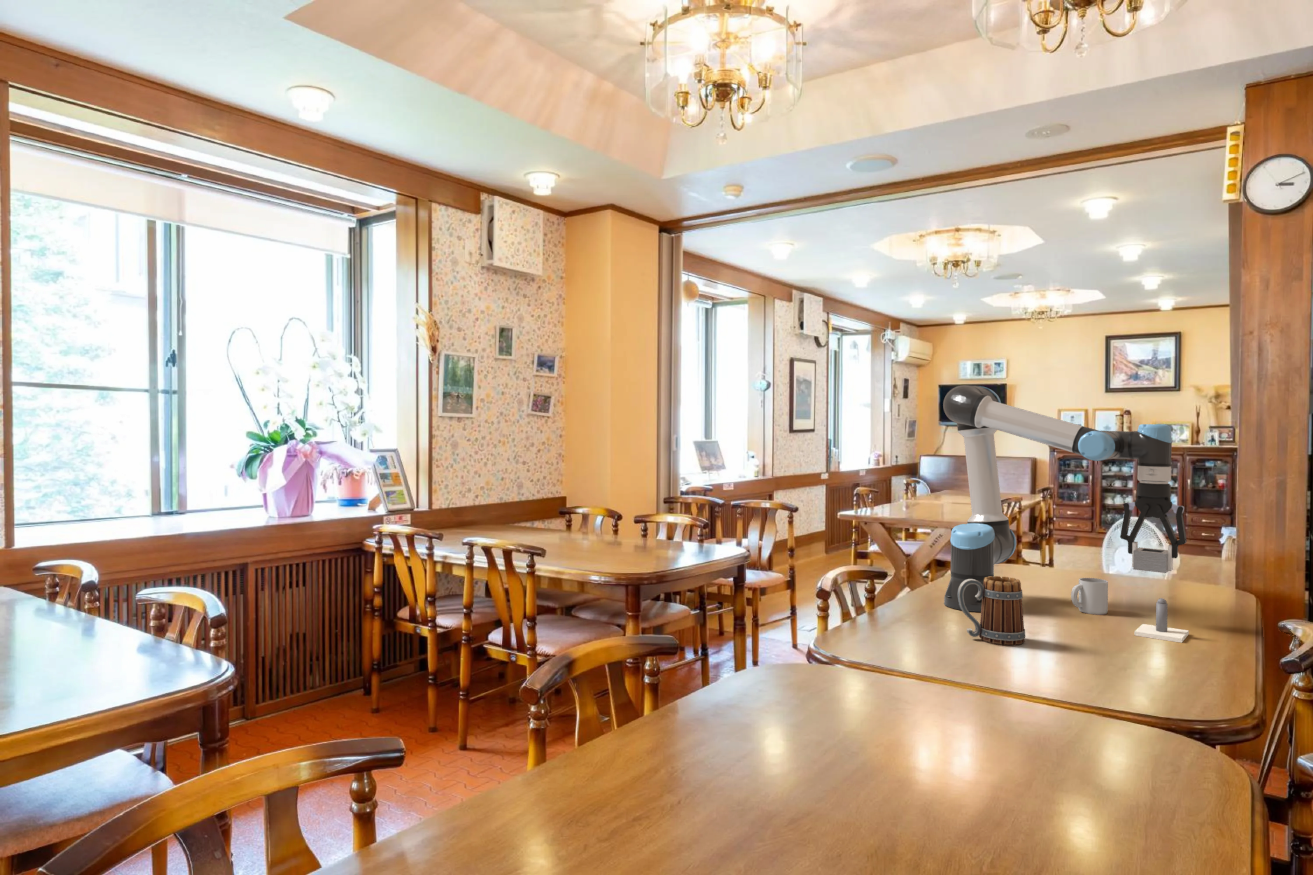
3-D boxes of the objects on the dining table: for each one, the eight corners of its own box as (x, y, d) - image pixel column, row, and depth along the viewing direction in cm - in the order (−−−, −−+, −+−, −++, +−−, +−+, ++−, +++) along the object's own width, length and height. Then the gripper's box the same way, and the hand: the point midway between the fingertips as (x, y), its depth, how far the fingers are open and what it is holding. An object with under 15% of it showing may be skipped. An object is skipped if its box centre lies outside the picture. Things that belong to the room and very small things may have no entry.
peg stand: (1134, 635, 198) (1134, 598, 198) (1142, 627, 205) (1142, 592, 205) (1181, 642, 191) (1182, 604, 191) (1188, 634, 199) (1188, 597, 199)
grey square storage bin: (1133, 569, 209) (1133, 550, 209) (1139, 565, 215) (1139, 547, 215) (1166, 573, 205) (1166, 553, 204) (1171, 569, 210) (1171, 550, 210)
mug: (1016, 634, 198) (1016, 575, 198) (1032, 646, 188) (1032, 583, 188) (952, 633, 200) (952, 574, 200) (964, 644, 189) (964, 582, 189)
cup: (1113, 614, 220) (1113, 582, 219) (1079, 615, 219) (1079, 583, 219) (1097, 608, 227) (1097, 577, 227) (1063, 609, 226) (1064, 578, 226)
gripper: (1107, 480, 213) (1105, 565, 214) (1197, 485, 200) (1195, 575, 200) (1113, 479, 219) (1112, 561, 219) (1202, 483, 205) (1200, 571, 206)
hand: (1152, 568), depth 210 cm, fingers closed on grey square storage bin, 7 cm apart
